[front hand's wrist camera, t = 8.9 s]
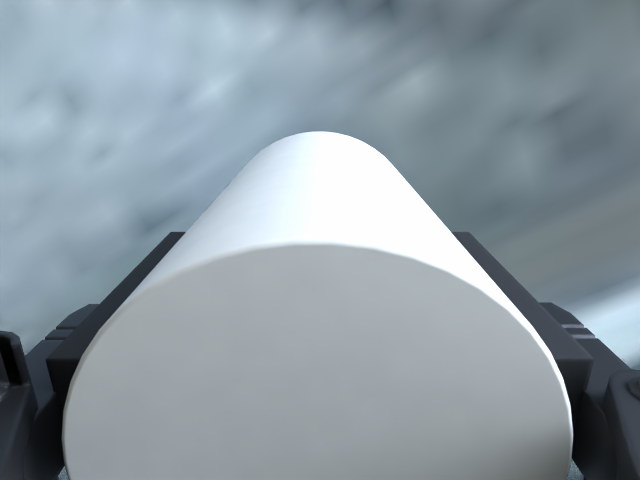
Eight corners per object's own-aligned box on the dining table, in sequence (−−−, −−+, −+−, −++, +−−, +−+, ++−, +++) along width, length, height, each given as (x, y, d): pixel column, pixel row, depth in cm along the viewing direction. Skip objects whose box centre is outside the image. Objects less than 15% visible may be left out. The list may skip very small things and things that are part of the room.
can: (424, 137, 17) (647, 254, 5) (400, 313, 19) (514, 641, 8) (223, 125, 16) (12, 221, 5) (227, 304, 19) (93, 626, 8)
